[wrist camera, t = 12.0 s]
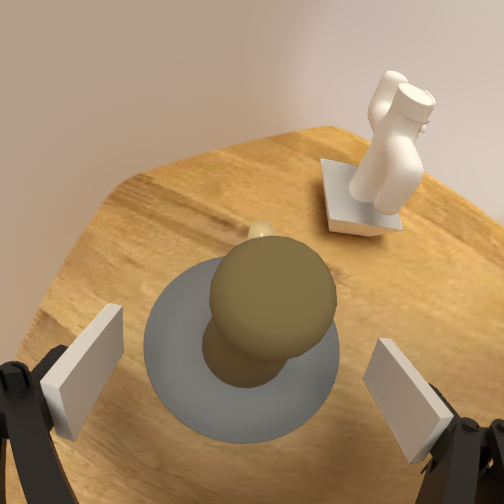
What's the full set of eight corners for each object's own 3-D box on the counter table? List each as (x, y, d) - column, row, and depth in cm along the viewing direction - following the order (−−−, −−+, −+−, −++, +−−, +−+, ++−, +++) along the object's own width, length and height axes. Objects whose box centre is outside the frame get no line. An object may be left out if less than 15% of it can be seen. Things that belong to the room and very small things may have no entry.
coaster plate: (353, 306, 24) (391, 273, 19) (293, 468, 17) (324, 485, 12) (202, 236, 26) (203, 187, 20) (113, 384, 19) (81, 371, 13)
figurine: (316, 253, 26) (398, 114, 14) (308, 175, 31) (358, 49, 18) (386, 261, 27) (484, 149, 14) (369, 187, 32) (432, 78, 19)
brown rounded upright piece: (184, 358, 19) (163, 303, 10) (230, 289, 22) (251, 189, 13) (262, 404, 18) (321, 395, 9) (302, 330, 21) (377, 258, 12)
